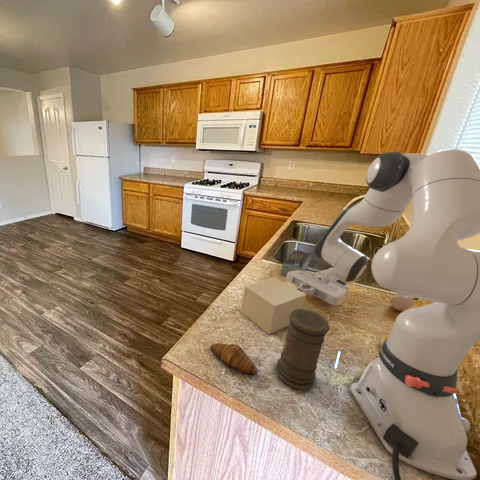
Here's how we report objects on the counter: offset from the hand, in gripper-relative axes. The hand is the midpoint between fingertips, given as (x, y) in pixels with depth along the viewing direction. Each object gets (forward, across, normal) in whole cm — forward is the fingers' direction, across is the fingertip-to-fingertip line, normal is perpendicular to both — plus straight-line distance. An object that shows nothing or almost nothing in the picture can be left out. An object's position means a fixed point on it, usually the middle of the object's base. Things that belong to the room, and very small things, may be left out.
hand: (300, 291), depth 95 cm
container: (+28, +20, +6) cm, 35 cm away
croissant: (+40, +10, +6) cm, 41 cm away
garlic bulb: (-32, +18, +6) cm, 37 cm away
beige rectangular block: (+14, 0, +6) cm, 16 cm away
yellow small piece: (-7, +28, +6) cm, 30 cm away
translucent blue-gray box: (-25, -20, +7) cm, 33 cm away
